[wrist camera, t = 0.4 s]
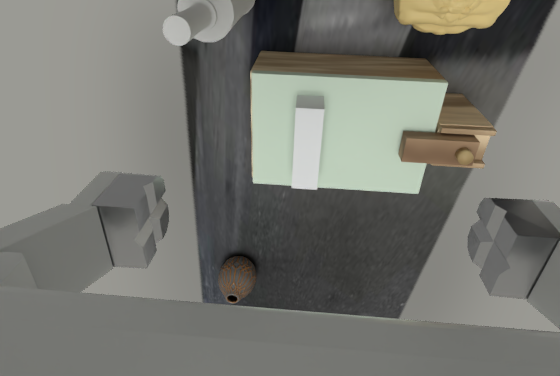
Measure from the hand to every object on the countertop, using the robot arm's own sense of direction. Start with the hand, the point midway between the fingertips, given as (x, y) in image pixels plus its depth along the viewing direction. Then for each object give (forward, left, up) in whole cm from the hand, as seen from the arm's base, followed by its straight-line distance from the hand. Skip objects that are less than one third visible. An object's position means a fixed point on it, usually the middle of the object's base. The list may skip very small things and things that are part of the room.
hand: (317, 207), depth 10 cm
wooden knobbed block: (+14, +15, -34) cm, 39 cm away
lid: (+14, +4, -35) cm, 38 cm away
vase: (+47, -11, -45) cm, 66 cm away
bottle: (0, -10, -45) cm, 46 cm away
